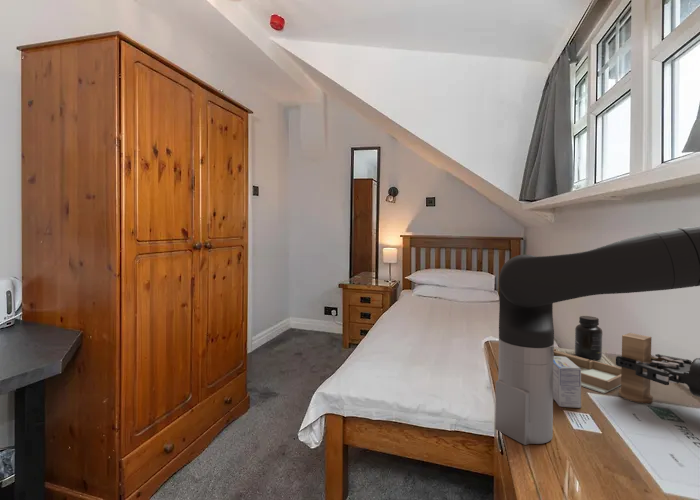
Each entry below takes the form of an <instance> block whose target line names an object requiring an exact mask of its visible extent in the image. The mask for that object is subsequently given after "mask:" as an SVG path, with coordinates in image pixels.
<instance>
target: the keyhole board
mask: <svg viewBox="0 0 700 500" xmlns="http://www.w3.org/2000/svg"><path fill="white" fill-rule="evenodd" d="M554 356H562V357H567V358H568V359H569V360H571V361H572V362H573V363H574V364H575V365H577V366H578V367H579V368H580V369H581V387H583V388H586V389H589V390H592V391H594V392H598V393H601V394H604V395H605V394H606V393H608V392H611V391H613V390H615V389H616V388H619V387H621V367H620V366H615V365H611V364H608V363H607V364H606V363H603V362H600V361H598V360H589V359H585V358H581V357H578V356H576V355H573V354H570V353H566V352H562V351H558V350H557V348H554Z"/></svg>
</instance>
